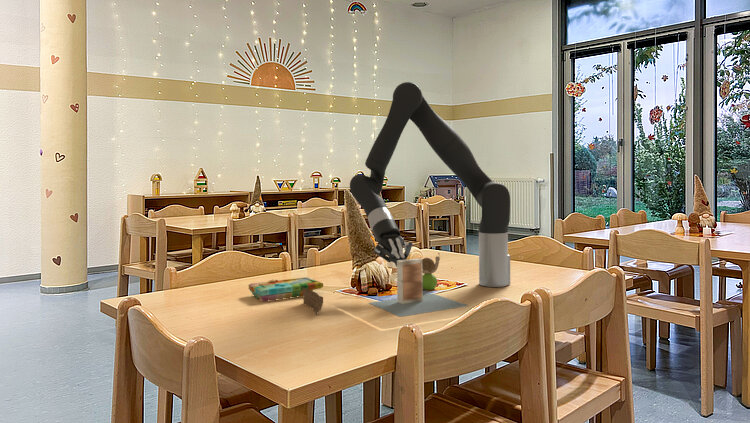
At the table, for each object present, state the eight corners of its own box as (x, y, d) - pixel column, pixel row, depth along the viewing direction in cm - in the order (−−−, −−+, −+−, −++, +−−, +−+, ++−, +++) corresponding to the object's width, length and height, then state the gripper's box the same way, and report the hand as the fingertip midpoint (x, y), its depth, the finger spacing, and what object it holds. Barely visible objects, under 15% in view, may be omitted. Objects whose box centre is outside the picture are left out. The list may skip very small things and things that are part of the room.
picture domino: (418, 299, 168) (417, 258, 167) (423, 300, 166) (422, 259, 165) (397, 302, 165) (396, 260, 164) (402, 304, 163) (401, 261, 162)
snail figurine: (439, 292, 178) (439, 254, 177) (418, 292, 180) (418, 253, 179) (441, 288, 184) (440, 251, 183) (421, 288, 185) (420, 251, 184)
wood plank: (298, 304, 167) (298, 287, 167) (305, 303, 168) (305, 286, 168) (317, 316, 154) (316, 297, 153) (324, 315, 154) (324, 297, 154)
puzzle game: (248, 281, 179) (307, 274, 189) (248, 296, 180) (308, 288, 190) (260, 288, 169) (323, 280, 179) (261, 304, 169) (323, 295, 179)
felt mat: (432, 295, 175) (432, 293, 175) (469, 307, 159) (468, 305, 159) (368, 304, 165) (368, 302, 165) (400, 318, 149) (400, 316, 149)
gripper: (367, 219, 172) (388, 265, 162) (406, 216, 178) (428, 261, 168) (360, 235, 177) (380, 281, 167) (397, 231, 183) (419, 276, 173)
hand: (404, 271), depth 168 cm, fingers closed
